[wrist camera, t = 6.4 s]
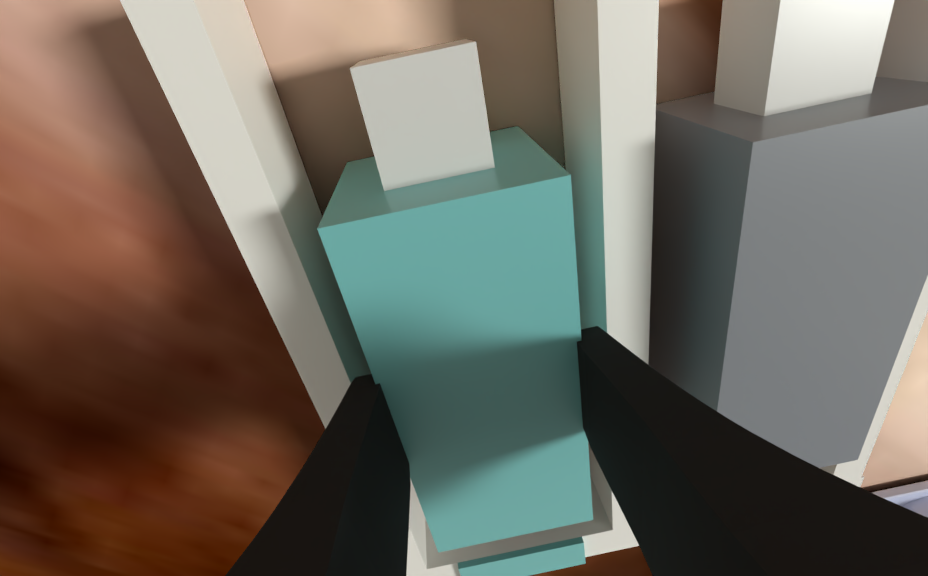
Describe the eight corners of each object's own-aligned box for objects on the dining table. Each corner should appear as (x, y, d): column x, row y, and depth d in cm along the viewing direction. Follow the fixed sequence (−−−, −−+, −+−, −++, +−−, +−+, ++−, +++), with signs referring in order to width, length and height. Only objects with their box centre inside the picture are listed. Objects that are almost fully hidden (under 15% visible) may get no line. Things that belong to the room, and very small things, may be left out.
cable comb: (799, 440, 17) (860, 505, 15) (403, 524, 17) (402, 602, 15) (966, -168, 9) (1171, -238, 6) (182, -1, 9) (99, -11, 6)
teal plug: (556, 447, 16) (595, 562, 13) (443, 471, 16) (453, 592, 13) (506, 27, 10) (561, 28, 6) (317, 67, 10) (265, 91, 6)
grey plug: (748, 405, 16) (840, 506, 13) (638, 428, 16) (700, 536, 13) (827, -33, 10) (1056, -64, 6) (644, 6, 10) (772, -3, 6)
